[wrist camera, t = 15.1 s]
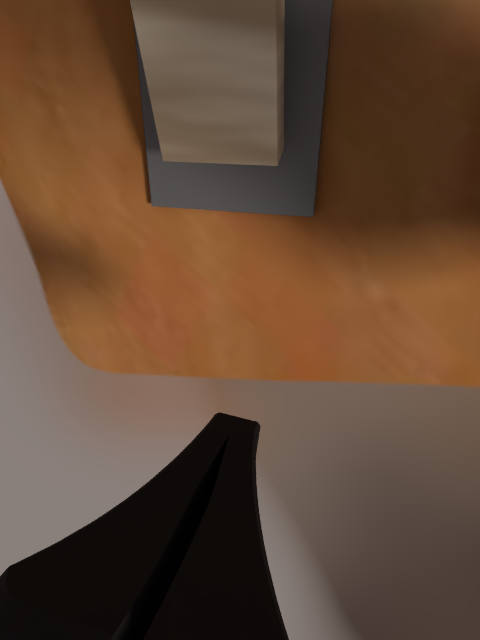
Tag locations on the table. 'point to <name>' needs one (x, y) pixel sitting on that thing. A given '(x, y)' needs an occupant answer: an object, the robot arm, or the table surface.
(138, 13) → the domino
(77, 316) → the table surface
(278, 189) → the grey flat rectangular board
